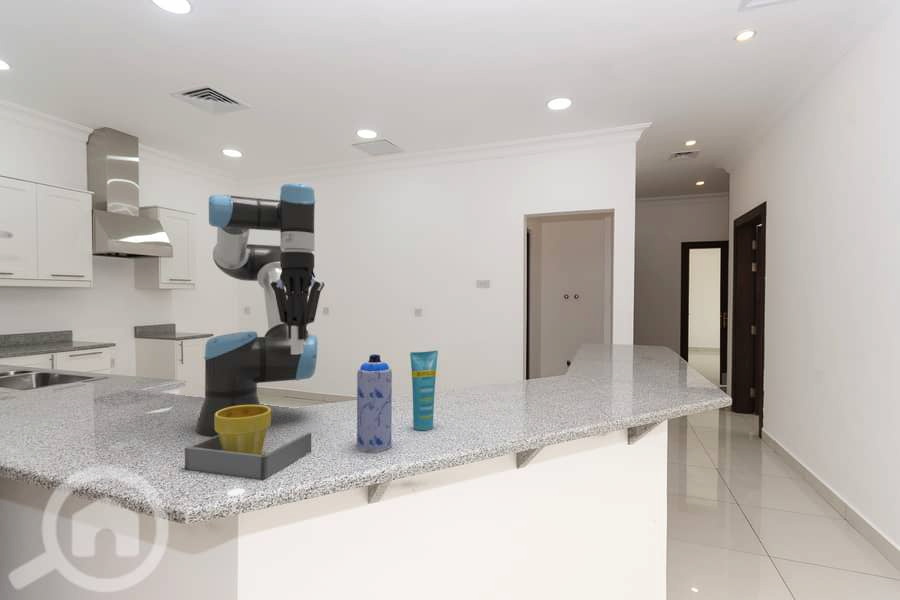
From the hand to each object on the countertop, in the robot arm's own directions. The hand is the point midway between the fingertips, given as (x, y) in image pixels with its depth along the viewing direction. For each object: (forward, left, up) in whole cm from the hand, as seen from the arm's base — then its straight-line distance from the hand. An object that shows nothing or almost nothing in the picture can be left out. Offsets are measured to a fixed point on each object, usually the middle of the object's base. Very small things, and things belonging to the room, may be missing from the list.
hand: (297, 353), depth 106 cm
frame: (0, -16, -19) cm, 25 cm away
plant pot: (-2, -15, -20) cm, 25 cm away
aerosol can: (+20, -1, -20) cm, 28 cm away
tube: (+26, +15, -20) cm, 36 cm away
